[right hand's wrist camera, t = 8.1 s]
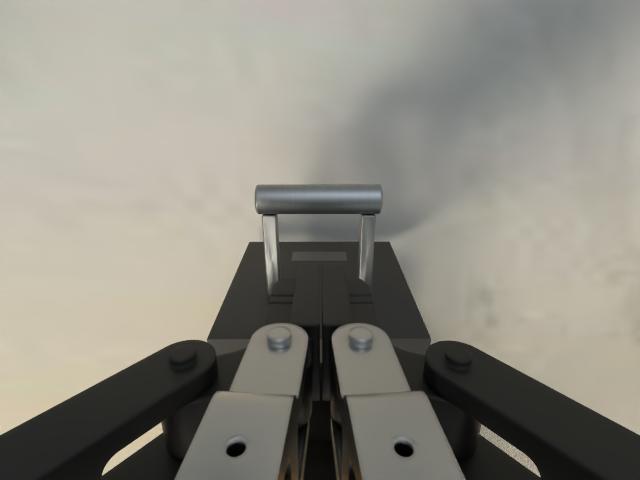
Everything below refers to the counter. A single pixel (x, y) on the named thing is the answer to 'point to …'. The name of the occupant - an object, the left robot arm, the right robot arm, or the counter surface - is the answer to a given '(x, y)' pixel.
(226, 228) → the counter surface
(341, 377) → the right robot arm
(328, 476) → the drawer
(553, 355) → the counter surface
